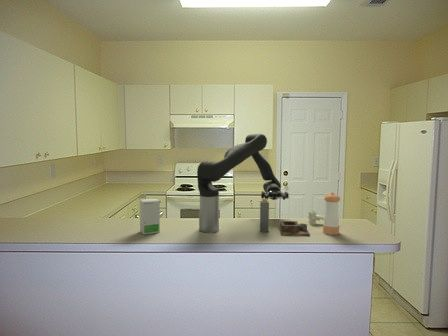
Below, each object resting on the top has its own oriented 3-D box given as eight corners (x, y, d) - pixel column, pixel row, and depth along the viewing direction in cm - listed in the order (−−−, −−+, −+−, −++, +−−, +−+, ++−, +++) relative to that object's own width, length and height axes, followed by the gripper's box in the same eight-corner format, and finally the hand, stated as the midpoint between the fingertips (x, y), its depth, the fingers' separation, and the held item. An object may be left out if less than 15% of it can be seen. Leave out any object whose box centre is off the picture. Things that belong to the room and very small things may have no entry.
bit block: (280, 235, 147) (281, 226, 146) (278, 227, 159) (278, 219, 158) (309, 235, 146) (309, 227, 145) (305, 228, 157) (305, 220, 157)
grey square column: (260, 231, 151) (260, 199, 150) (259, 229, 155) (260, 198, 154) (268, 232, 151) (269, 200, 149) (268, 229, 155) (268, 198, 153)
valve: (308, 225, 162) (333, 226, 160) (309, 212, 162) (333, 213, 160) (307, 221, 169) (330, 222, 167) (307, 209, 168) (331, 210, 166)
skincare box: (143, 235, 147) (141, 202, 145) (139, 231, 153) (138, 199, 151) (160, 232, 151) (159, 200, 149) (156, 228, 157) (156, 197, 155)
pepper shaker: (335, 236, 146) (336, 195, 143) (320, 232, 150) (321, 192, 148) (341, 232, 151) (343, 192, 149) (326, 229, 156) (328, 190, 154)
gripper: (260, 184, 178) (261, 190, 162) (286, 185, 177) (289, 190, 161) (260, 198, 179) (261, 204, 163) (286, 198, 178) (289, 205, 162)
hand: (275, 197), depth 162 cm, fingers open, 8 cm apart
